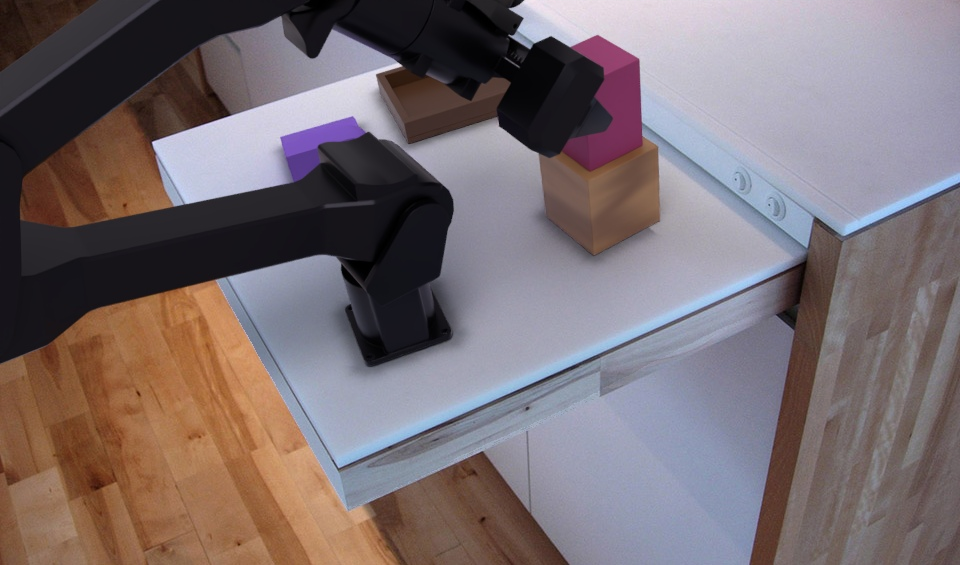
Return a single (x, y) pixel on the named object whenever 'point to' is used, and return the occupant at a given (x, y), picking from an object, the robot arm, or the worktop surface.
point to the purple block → (315, 144)
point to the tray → (435, 103)
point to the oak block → (603, 196)
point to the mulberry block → (611, 106)
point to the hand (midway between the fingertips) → (568, 97)
